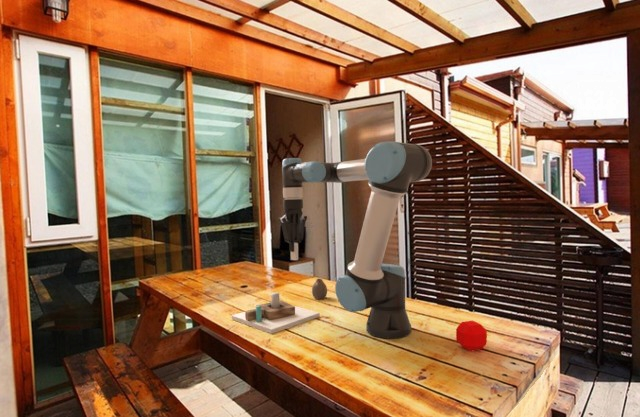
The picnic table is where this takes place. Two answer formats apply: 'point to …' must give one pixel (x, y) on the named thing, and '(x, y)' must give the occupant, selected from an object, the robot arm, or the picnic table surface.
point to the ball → (471, 335)
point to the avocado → (319, 289)
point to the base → (278, 323)
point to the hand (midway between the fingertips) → (294, 259)
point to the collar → (271, 311)
